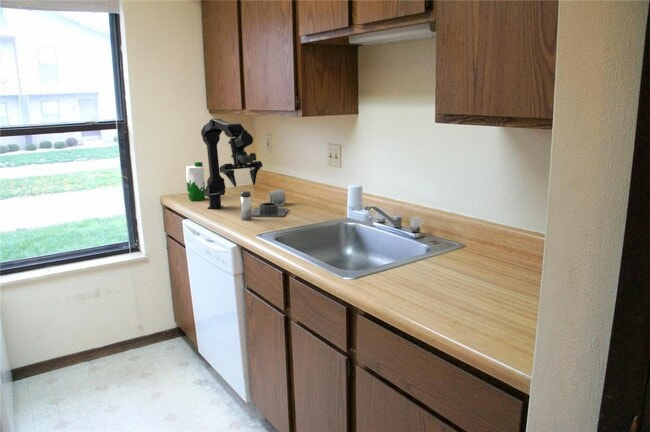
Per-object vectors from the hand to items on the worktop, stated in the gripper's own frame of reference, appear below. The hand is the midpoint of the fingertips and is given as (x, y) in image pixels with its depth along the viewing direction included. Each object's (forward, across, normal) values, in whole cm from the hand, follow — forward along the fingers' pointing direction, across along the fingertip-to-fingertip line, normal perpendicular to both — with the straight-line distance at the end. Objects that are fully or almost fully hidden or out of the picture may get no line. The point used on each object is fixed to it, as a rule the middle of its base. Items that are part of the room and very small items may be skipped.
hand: (245, 185), depth 228 cm
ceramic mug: (+9, +28, +23) cm, 37 cm away
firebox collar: (+13, +14, +9) cm, 21 cm away
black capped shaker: (+14, 0, +5) cm, 15 cm away
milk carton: (-4, +1, +61) cm, 61 cm away
